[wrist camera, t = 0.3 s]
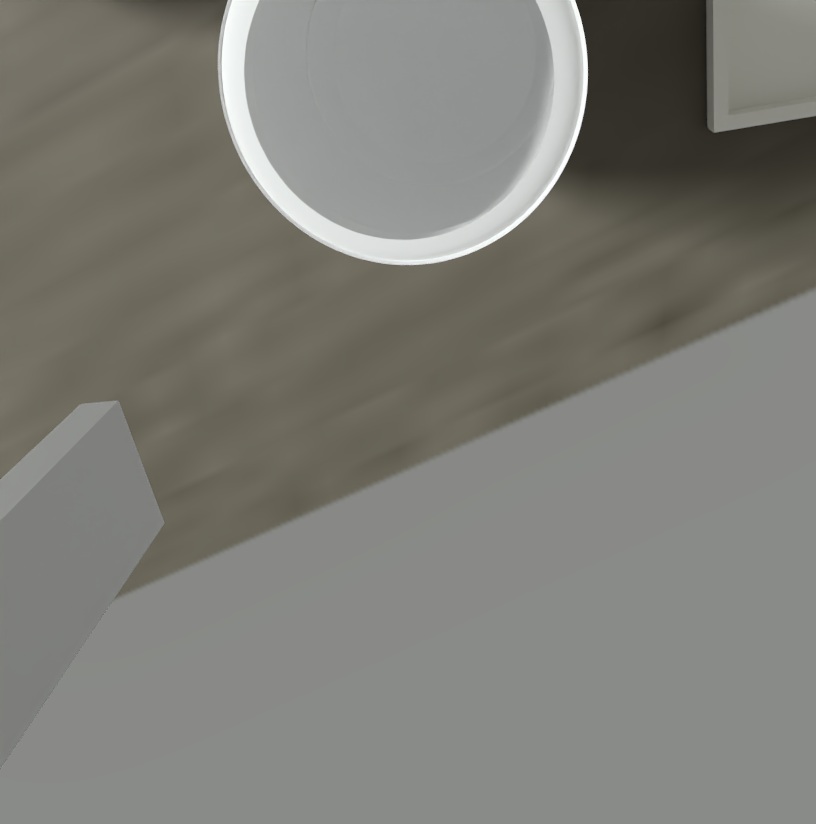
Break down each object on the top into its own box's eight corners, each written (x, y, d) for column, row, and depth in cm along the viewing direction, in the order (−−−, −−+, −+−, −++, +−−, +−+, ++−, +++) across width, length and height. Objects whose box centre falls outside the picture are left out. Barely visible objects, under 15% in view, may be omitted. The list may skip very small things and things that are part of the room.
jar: (584, -70, 32) (629, -109, 19) (538, 183, 37) (549, 289, 24) (331, -99, 33) (208, -154, 20) (320, 154, 38) (215, 243, 25)
